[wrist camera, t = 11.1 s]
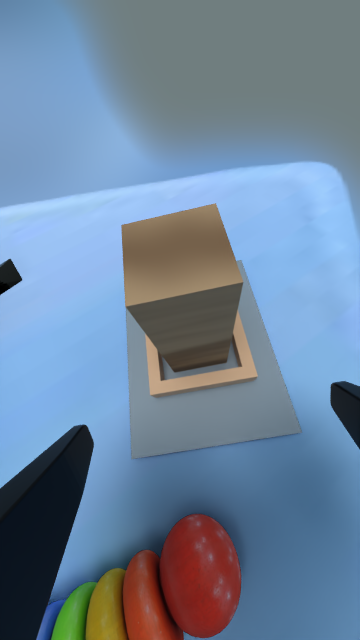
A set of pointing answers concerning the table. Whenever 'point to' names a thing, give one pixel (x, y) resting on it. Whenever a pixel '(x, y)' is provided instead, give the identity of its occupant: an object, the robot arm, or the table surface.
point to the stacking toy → (157, 591)
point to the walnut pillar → (183, 285)
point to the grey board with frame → (208, 391)
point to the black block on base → (8, 276)
